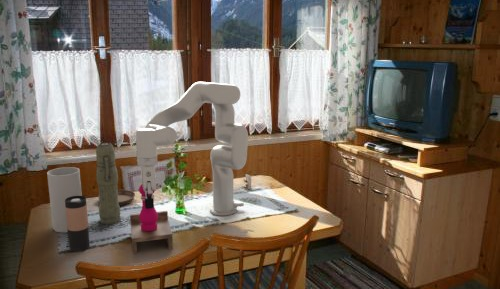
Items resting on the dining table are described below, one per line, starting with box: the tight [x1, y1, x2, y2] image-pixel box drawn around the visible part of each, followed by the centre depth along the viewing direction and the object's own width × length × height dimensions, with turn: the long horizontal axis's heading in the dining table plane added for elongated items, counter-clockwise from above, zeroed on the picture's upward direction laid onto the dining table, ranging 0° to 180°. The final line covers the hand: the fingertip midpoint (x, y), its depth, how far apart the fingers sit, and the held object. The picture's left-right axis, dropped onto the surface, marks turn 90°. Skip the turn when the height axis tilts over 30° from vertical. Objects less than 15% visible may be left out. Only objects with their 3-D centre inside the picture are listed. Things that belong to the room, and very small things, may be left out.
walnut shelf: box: [129, 210, 174, 254], centre depth 177 cm, size 15×17×9 cm
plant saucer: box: [98, 189, 136, 206], centre depth 223 cm, size 18×18×3 cm
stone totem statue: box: [95, 142, 121, 225], centre depth 195 cm, size 9×12×35 cm
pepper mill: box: [138, 183, 158, 231], centre depth 174 cm, size 7×7×20 cm
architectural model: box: [239, 173, 252, 190], centre depth 243 cm, size 3×7×7 cm, turn 29°
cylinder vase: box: [46, 166, 83, 234], centre depth 189 cm, size 12×12×25 cm
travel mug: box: [65, 195, 91, 253], centre depth 171 cm, size 8×8×20 cm
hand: (148, 204), depth 175 cm, fingers open, 5 cm apart
